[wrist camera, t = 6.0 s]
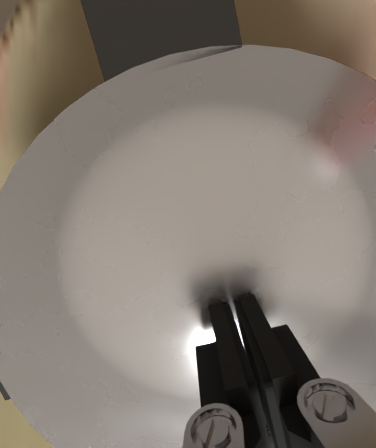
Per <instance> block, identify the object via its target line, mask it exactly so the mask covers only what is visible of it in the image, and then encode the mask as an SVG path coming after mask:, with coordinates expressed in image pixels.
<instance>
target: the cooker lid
mask: <svg viewBox="0 0 376 448" xmlns="http://www.w3.org/2000/svg"><path fill="white" fill-rule="evenodd" d="M81 3H82V6H83V10H84V13H85V16H86V20H87V23H88V26H89V30H90V33H91V36H92V40H93V43H94V46H95V50H96V53H97V56H98V60H99V63H100V67H101V70H102V73H103V77H104V80H105V82H104V83H102V84H100V85H98V86H96V87H95V88H93V89H92V90H91V91H89V92H88V93H87V94H85V95H84V96H82V97H81V98H80V99H78V100H77V101H75V102H74V103H73V104H71V105H70V106H69V107H67V108H66V109H64V110H63V111H62V112H61V113H60V114H59V115H58V116H57V117H56V118H55V119H54V120H53V121H52V122H51V123H50V124H49V125H48V126H47V127H46V128H45V129H44V130H43V131H42V132H41V133H40V134H39V135H38V136H37V137H36V138H35V139H34V141H33V142H32V143H31V145H30V146H29V147H28V149H27V150H26V151H25V152H24V154H23V155H22V156H21V158H20V159H19V160H18V162H17V163H16V164H15V166H14V167H13V169H12V171H11V173H10V175H9V176H8V178H7V180H6V182H5V184H4V186H3V187H2V189H1V191H0V381H1V383H2V385H3V386H4V388H5V390H6V391H7V393H8V395H9V396H10V398H11V400H12V401H13V403H14V404H15V406H16V407H17V408H18V409H19V411H20V412H21V413H22V414H23V416H24V417H25V418H26V420H27V421H28V422H29V423H30V425H31V426H32V427H33V428H34V429H35V430H36V431H37V432H38V433H40V434H41V435H42V436H43V437H44V438H45V439H46V440H47V441H48V442H49V443H50V444H51V445H52V446H53V447H55V448H182V447H183V439H184V431H185V428H186V424H187V422H188V420H189V419H190V417H191V416H192V415H193V414H194V413H195V412H196V411H197V410H198V409H200V408H201V404H200V393H199V382H198V372H197V361H196V350H195V347H196V346H198V345H202V344H207V343H211V342H215V337H214V332H213V327H212V322H211V317H210V312H209V307H208V304H211V303H215V302H219V301H223V304H228V303H229V304H230V307H231V310H232V313H233V316H234V319H235V322H236V325H237V328H238V331H239V334H240V337H241V340H242V336H241V332H240V327H239V323H238V319H237V315H236V311H235V306H234V302H236V301H239V299H238V297H240V296H244V295H248V294H252V293H253V294H254V296H255V298H256V300H257V301H258V303H259V305H260V307H261V309H262V311H263V313H264V315H265V317H266V319H267V321H268V322H269V324H270V326H271V328H272V327H277V326H281V325H285V324H286V325H288V327H289V328H290V330H291V331H292V333H293V334H294V336H295V338H296V339H297V341H298V342H299V344H300V346H301V347H302V349H303V350H304V352H305V354H306V355H307V357H308V358H309V360H310V362H311V363H312V365H313V366H314V368H315V370H316V371H317V373H318V374H319V376H320V378H330V379H334V380H338V381H341V382H343V383H345V384H347V385H348V386H350V387H351V388H352V389H353V390H355V391H356V392H357V393H358V394H359V395H360V396H361V397H362V398H363V400H364V401H365V402H366V403H367V404H368V405H369V406H370V407H371V408H372V409H373V410H374V411H375V412H376V81H375V80H374V79H372V78H371V77H369V76H368V75H366V74H364V73H362V72H360V71H357V70H355V69H353V68H350V67H348V66H346V65H343V64H341V63H339V62H336V61H334V60H332V59H329V58H326V57H322V56H318V55H314V54H310V53H306V52H302V51H299V50H295V49H289V48H280V47H270V46H260V45H242V43H241V37H240V32H239V27H238V21H237V16H236V10H235V5H234V0H81ZM242 343H243V340H242ZM243 346H244V344H243ZM244 349H245V348H244ZM262 411H263V409H262ZM263 415H264V412H263ZM264 419H265V423H266V428H267V432H268V436H269V441H270V445H271V448H275V446H274V443H273V440H272V436H271V433H270V430H269V427H268V424H267V421H266V418H265V415H264Z"/></svg>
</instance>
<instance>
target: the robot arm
mask: <svg viewBox="0 0 376 448" xmlns="http://www.w3.org/2000/svg"><path fill="white" fill-rule="evenodd" d="M238 299H239V301H236V302H234V306H235V311H236V315H237V319H238V323H239V327H240V332H241V336H242V340H243V343H242V340H241V337H240V334H239V331H238V328H237V325H236V322H235V319H234V316H233V313H232V310H231V307H230V304H229V303H228V304H223V301H219V302H215V303H211V304H208V307H209V312H210V317H211V322H212V327H213V332H214V337H215V342H211V343H207V344H202V345H198V346H196V347H195V350H196V361H197V372H198V382H199V393H200V404H201V408H200V409H198V410H197V411H196V412H195V413H194V414H193V415H192V416H191V417H190V419H189V420H188V422H187V424H186V428H185V431H184V439H183V447H182V448H271V445H270V441H269V436H268V432H267V428H266V423H265V419H264V415H265V418H266V421H267V424H268V427H269V430H270V433H271V436H272V440H273V443H274V446H275V448H376V412H375V411H374V410H373V409H372V408H371V407H370V406H369V405H368V404H367V403H366V402H365V401H364V400H363V398H362V397H361V396H360V395H359V394H358V393H357V392H356V391H355V390H353V389H352V388H351V387H350V386H348V385H347V384H345V383H343V382H341V381H338V380H334V379H330V378H320V376H319V374H318V373H317V371H316V370H315V368H314V366H313V365H312V363H311V362H310V360H309V358H308V357H307V355H306V354H305V352H304V350H303V349H302V347H301V346H300V344H299V342H298V341H297V339H296V338H295V336H294V334H293V333H292V331H291V330H290V328H289V327H288V325H286V324H285V325H281V326H277V327H272V328H271V326H270V324H269V322H268V321H267V319H266V317H265V315H264V313H263V311H262V309H261V307H260V305H259V303H258V301H257V300H256V298H255V296H254V294H253V293H252V294H248V295H244V296H240V297H238ZM243 344H244V346H243ZM244 348H245V349H244ZM262 409H263V411H262ZM263 412H264V415H263Z"/></svg>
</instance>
